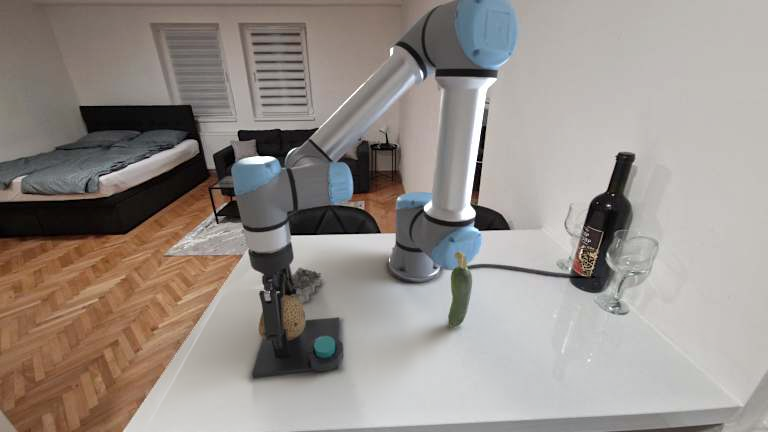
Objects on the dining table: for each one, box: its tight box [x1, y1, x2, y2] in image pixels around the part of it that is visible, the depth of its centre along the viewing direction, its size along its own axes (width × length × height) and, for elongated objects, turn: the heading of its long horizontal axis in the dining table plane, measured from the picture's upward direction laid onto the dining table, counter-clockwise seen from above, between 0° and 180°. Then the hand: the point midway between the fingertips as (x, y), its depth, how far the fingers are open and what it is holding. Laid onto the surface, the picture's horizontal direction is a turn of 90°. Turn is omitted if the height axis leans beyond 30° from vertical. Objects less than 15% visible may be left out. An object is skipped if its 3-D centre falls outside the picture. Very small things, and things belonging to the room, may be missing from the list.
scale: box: [251, 316, 344, 379], centre depth 63 cm, size 17×14×3 cm
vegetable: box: [447, 252, 473, 329], centre depth 64 cm, size 4×4×20 cm
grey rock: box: [291, 267, 322, 305], centre depth 80 cm, size 11×8×4 cm
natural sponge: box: [258, 295, 307, 341], centre depth 62 cm, size 9×9×10 cm
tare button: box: [314, 336, 335, 359], centre depth 59 cm, size 4×4×2 cm
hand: (287, 336), depth 64 cm, fingers closed on natural sponge, 9 cm apart
